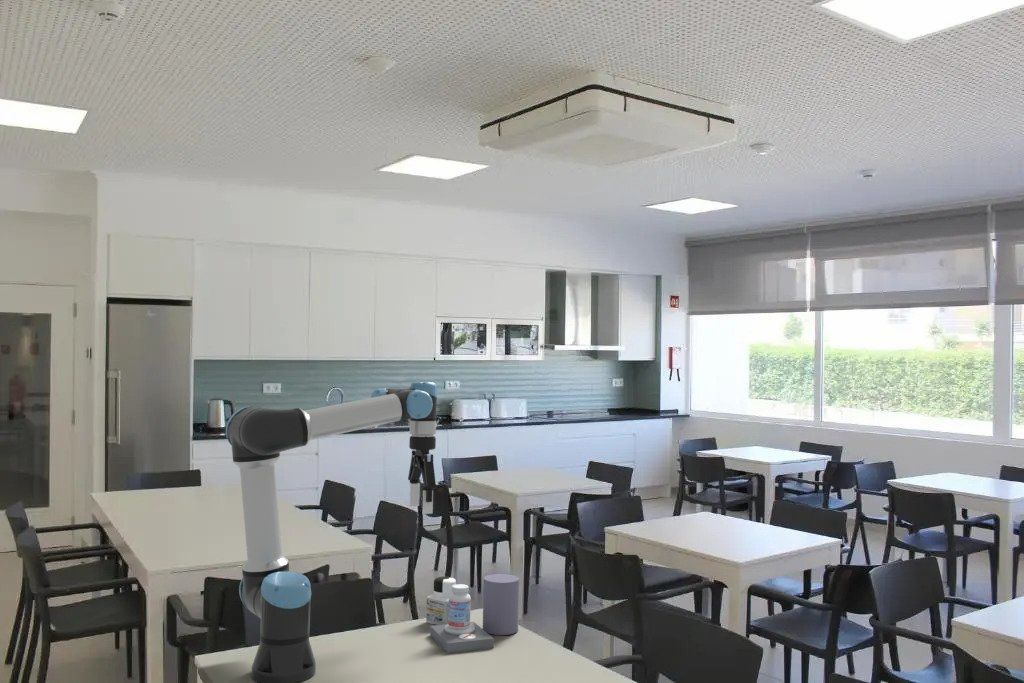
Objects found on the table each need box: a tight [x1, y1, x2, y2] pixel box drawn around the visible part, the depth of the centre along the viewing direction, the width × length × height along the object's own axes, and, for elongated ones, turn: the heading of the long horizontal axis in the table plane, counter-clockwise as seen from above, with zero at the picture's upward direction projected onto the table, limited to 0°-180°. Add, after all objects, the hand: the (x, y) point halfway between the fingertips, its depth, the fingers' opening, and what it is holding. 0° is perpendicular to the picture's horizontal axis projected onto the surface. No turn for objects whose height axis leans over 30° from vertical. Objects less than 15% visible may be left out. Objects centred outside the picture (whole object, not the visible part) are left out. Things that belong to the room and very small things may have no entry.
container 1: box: [425, 576, 457, 626], centre depth 253 cm, size 8×8×13 cm
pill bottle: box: [448, 583, 472, 630], centre depth 236 cm, size 6×6×11 cm
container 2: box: [482, 573, 520, 637], centre depth 245 cm, size 10×10×15 cm
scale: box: [429, 621, 494, 654], centre depth 234 cm, size 13×16×4 cm
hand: (420, 509), depth 243 cm, fingers open, 13 cm apart
